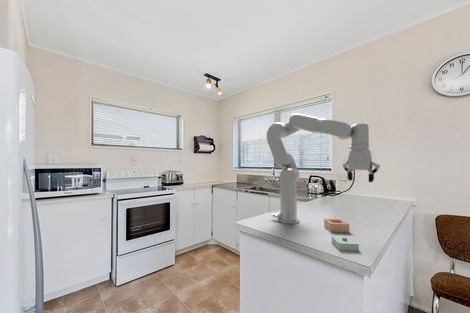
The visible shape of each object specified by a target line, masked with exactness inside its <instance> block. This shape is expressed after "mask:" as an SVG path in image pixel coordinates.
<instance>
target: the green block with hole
mask: <svg viewBox="0 0 470 313" xmlns="http://www.w3.org/2000/svg"><path fill="white" fill-rule="evenodd" d="M331 242H332V243H333V244H334V245H335V246H336V247H337V248H338V249H339V250H338V249H337V248H336V247H335V246H334V245H333V244H332V243H331V244H332V245H333V246H334V247H335V248H336V249H337V250H338V251H342V250H350V252H360V249H359V248H360V247H359V246H360V244H359V243H358V242H357V241H356V240H354V239H353V238H352V237H350V236H339V235H338V236H337V235H336V236H334V235H333V236H331Z"/></svg>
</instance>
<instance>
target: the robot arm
mask: <svg viewBox="0 0 470 313" xmlns="http://www.w3.org/2000/svg"><path fill="white" fill-rule="evenodd" d="M288 119H289V120H288V121H287V122H284V123H281V122H280V121H279V122H274V123H272V124H271V125H270V126H269V127H268V129H267V132H266V141H267V144H268V146H269V149H270V151H271V155H272V157H273V160H274V163H275V165H276V166H277V167H280V168H281V172H280V173H279V178H278V180H279V189H280V193H279V194H280V195H279V196H280V208H279V210H280V211H279V212H277V213H274V212H273V213H272V217H273V218H277V221H278V222H279V223H283V224H287V225H290V224H291V225H294V224H298V223H300V218H299V217H298V216H297V215H298V210H297V209H298V204H297V203H298V202H297V201H298V199H297V198H298V196H297V195H298V193H297V192H298V191H297V190H298V189H297V181H298V180H299V179H300V171H299V169H298V166H297V164H296V161H295V159H294V157H293V155H292V154H291V153H289V152H287V150H286V147H285V146H284V142H283V141H282V138H283V139H284V138H286V137H289V136H292V135H293V134H295V133H297V132H299V131H300V130H301V131H305V132H309V133H314V134H319V133H320V134H326V135H329V136H330V135H331V136H334V137H336V138H338V139H340V140H347V139H351V145H350V146H348V149H350V150H349V153H348V160H347V162H345V163H343V164H342V167H343V169H344V170H345V172H346V173H347V179H348V181H353V178H354V176H353V172H354V171H356V170H357V171H367V172H368V173H369V174H368V182H369V183H373V182H374V179H375V174H376V173H377V172H378V171H379V170H380V167H381V165H380V164H378V163H376V162H374V161H373V157H372V152H371V150H370V147H369V145H370V144H369V143H370V142H369V141H370V140H369V139H370V137H369V136H370V135H369V134H370V133H369V131H370V130H369V127H370V126H369V125H368V124H367V123H354V124H353V125H350V124H348V123H347V122H343V121H339V120H334V119H333V120H332V119H326V118H321V117H320V118H319V117H316V116H311V115H306V114H302V113H293V114H291V115H290V117H289V118H288ZM373 166H374V168H373Z"/></svg>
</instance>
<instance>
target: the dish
mask: <svg viewBox="0 0 470 313" xmlns="http://www.w3.org/2000/svg"><path fill="white" fill-rule="evenodd" d="M323 226H324V228H325V229H326V230H328V231H329V233H346V234H347V233H350V223H348V222H347V221H345V220H344V219H342V218H323Z"/></svg>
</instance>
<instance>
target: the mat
mask: <svg viewBox="0 0 470 313" xmlns="http://www.w3.org/2000/svg"><path fill="white" fill-rule="evenodd" d="M330 243H331V244H332V245H333V247H335V248H336V249H337V251H340V250H339V249H338V248H337V247H336V246H335V245H334V244H333V243H332V241H331V242H330ZM342 251H344V252H345V251H346V252H349V251H350V250H341V252H342ZM350 252H351V251H350Z"/></svg>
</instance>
